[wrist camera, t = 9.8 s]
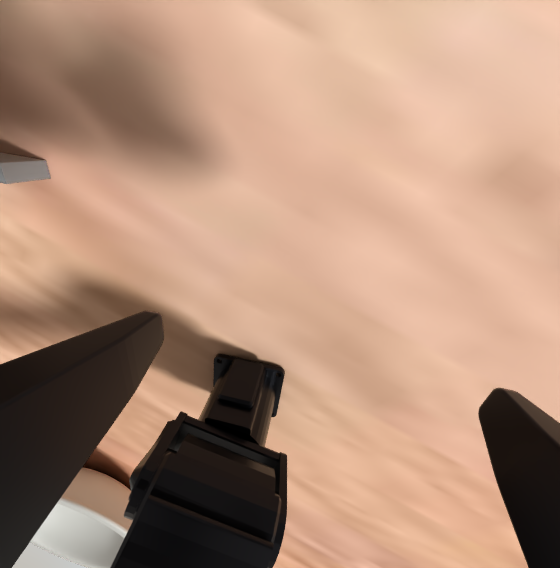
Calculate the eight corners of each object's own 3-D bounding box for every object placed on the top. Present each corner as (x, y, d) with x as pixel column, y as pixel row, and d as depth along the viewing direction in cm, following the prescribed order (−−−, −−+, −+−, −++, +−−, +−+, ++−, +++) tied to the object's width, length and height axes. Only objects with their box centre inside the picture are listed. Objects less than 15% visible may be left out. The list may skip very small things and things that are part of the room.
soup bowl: (3, 446, 42) (-49, 494, 36) (103, 423, 34) (56, 480, 28) (106, 523, 50) (77, 573, 44) (206, 520, 42) (186, 580, 36)
